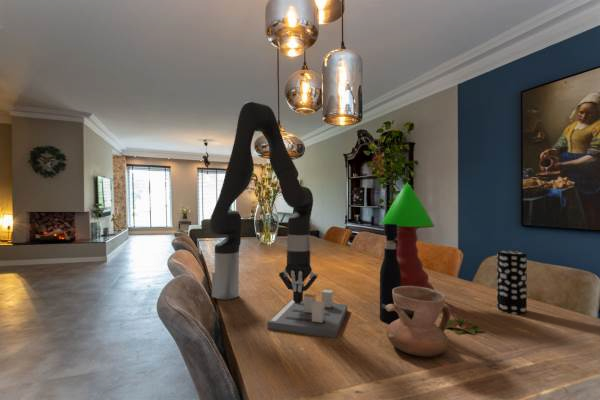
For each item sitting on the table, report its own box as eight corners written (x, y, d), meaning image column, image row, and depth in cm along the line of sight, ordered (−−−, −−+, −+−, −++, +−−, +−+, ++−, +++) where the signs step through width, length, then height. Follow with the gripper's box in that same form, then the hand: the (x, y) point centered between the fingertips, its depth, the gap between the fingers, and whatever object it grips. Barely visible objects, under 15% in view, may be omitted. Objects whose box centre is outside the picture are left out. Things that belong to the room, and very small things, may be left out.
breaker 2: (321, 306, 99) (322, 291, 99) (323, 303, 102) (323, 289, 102) (330, 307, 98) (331, 292, 98) (332, 304, 101) (332, 290, 101)
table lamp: (370, 297, 118) (370, 182, 118) (397, 288, 131) (398, 184, 131) (418, 310, 103) (418, 179, 103) (443, 299, 116) (444, 182, 116)
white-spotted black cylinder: (523, 308, 106) (523, 251, 106) (529, 316, 98) (529, 255, 99) (495, 304, 109) (495, 249, 110) (499, 312, 102) (499, 253, 102)
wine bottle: (401, 317, 97) (401, 223, 97) (400, 325, 90) (401, 225, 91) (380, 315, 99) (380, 223, 99) (378, 322, 93) (379, 224, 93)
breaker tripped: (303, 311, 94) (304, 295, 94) (306, 308, 97) (306, 292, 97) (313, 313, 93) (313, 296, 93) (315, 309, 96) (315, 293, 96)
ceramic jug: (399, 366, 67) (401, 303, 68) (372, 337, 82) (374, 284, 82) (470, 361, 71) (472, 300, 71) (432, 334, 85) (434, 283, 85)
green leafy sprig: (465, 320, 96) (465, 305, 96) (494, 336, 84) (494, 319, 84) (430, 322, 94) (430, 307, 94) (456, 339, 83) (456, 322, 83)
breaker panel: (267, 328, 87) (267, 321, 87) (291, 304, 108) (291, 298, 108) (335, 338, 81) (335, 330, 81) (347, 310, 102) (347, 304, 102)
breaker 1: (311, 321, 86) (312, 304, 87) (314, 317, 89) (314, 301, 89) (322, 322, 86) (322, 305, 86) (324, 318, 88) (324, 302, 89)
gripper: (274, 249, 94) (274, 304, 94) (315, 251, 91) (315, 309, 90) (283, 245, 102) (282, 297, 101) (321, 247, 98) (321, 301, 98)
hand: (298, 302), depth 96 cm, fingers closed
